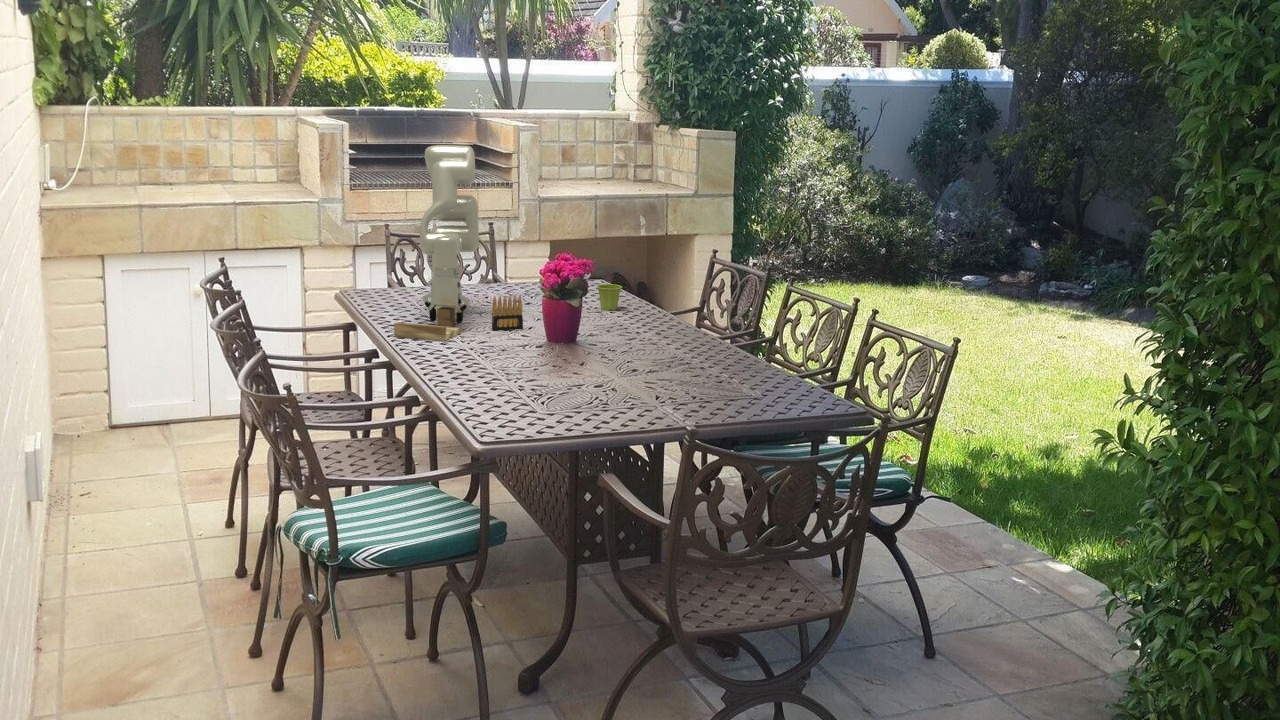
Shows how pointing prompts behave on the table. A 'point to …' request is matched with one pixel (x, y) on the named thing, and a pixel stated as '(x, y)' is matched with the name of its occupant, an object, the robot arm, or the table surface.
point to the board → (425, 331)
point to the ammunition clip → (513, 319)
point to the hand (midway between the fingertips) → (446, 322)
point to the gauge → (446, 316)
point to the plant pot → (609, 296)
